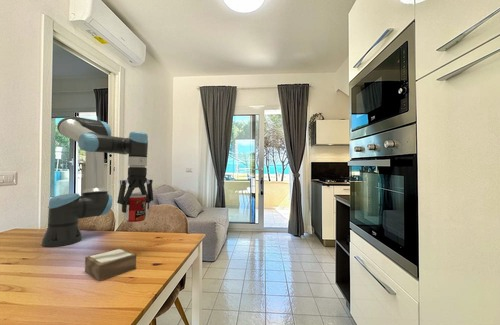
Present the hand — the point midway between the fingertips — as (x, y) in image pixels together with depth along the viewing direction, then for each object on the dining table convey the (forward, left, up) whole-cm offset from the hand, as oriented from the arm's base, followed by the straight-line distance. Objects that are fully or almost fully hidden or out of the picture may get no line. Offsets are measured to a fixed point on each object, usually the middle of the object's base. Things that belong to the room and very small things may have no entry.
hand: (135, 218), depth 99 cm
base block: (+10, -14, -15) cm, 23 cm away
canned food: (0, 0, -1) cm, 1 cm away
